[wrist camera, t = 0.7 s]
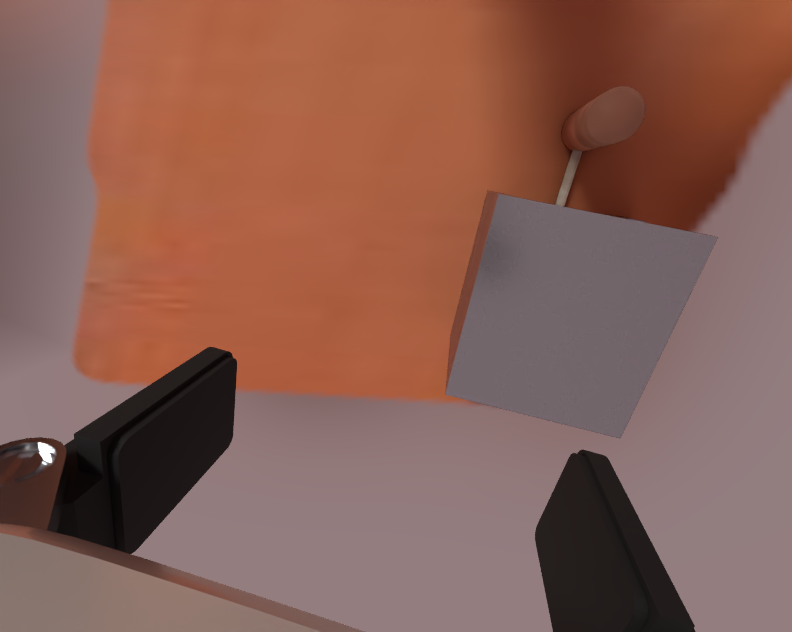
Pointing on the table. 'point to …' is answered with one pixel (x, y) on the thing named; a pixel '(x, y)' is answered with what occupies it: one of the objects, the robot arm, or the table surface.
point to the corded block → (600, 127)
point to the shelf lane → (568, 311)
